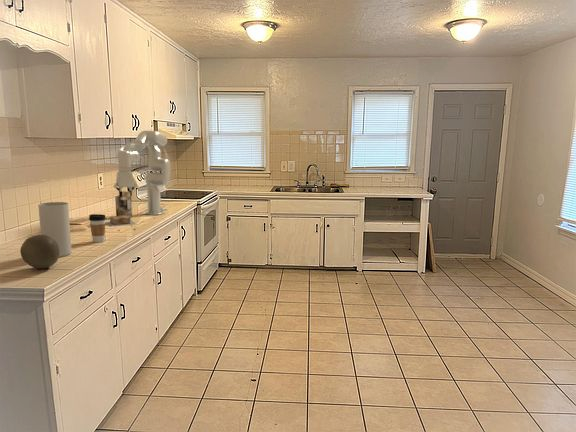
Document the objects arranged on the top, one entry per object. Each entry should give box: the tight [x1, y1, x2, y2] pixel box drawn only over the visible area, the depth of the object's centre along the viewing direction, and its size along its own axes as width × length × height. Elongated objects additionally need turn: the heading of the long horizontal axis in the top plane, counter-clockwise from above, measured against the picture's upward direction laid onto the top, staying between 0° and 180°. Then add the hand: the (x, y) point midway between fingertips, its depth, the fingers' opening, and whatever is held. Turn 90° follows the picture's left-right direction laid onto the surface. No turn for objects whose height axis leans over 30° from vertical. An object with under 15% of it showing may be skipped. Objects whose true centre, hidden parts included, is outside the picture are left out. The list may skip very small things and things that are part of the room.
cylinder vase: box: [37, 201, 72, 258], centre depth 202 cm, size 12×12×25 cm
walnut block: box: [109, 215, 131, 225], centre depth 275 cm, size 10×10×4 cm
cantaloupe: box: [19, 234, 60, 270], centre depth 180 cm, size 14×14×15 cm
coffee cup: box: [88, 213, 107, 244], centre depth 231 cm, size 8×8×15 cm
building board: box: [105, 219, 137, 228], centre depth 275 cm, size 17×17×2 cm
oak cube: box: [121, 190, 130, 200], centre depth 278 cm, size 5×5×5 cm
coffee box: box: [114, 195, 133, 218], centre depth 298 cm, size 9×6×16 cm
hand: (125, 197), depth 278 cm, fingers closed on oak cube, 5 cm apart
